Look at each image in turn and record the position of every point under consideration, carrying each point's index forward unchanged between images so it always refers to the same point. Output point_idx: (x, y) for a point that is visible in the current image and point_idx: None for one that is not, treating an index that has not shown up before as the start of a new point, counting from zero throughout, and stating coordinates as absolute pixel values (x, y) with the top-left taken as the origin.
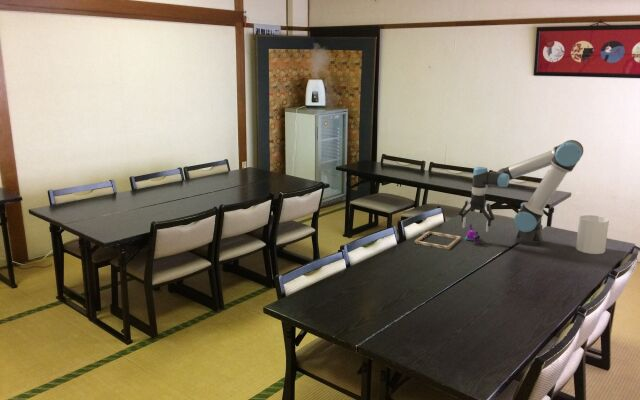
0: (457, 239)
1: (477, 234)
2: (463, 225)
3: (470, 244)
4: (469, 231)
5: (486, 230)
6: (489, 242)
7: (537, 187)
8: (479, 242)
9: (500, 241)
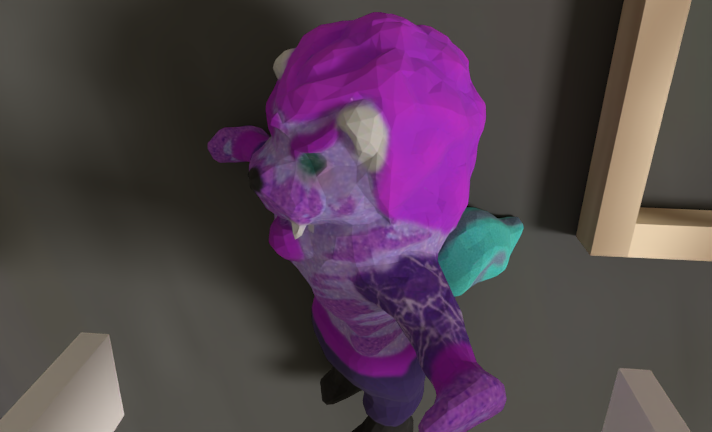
0: (640, 42)
1: (320, 339)
2: (657, 413)
3: None
4: (420, 103)
5: (77, 353)
6: (144, 269)
7: None
8: (234, 128)
9: None
